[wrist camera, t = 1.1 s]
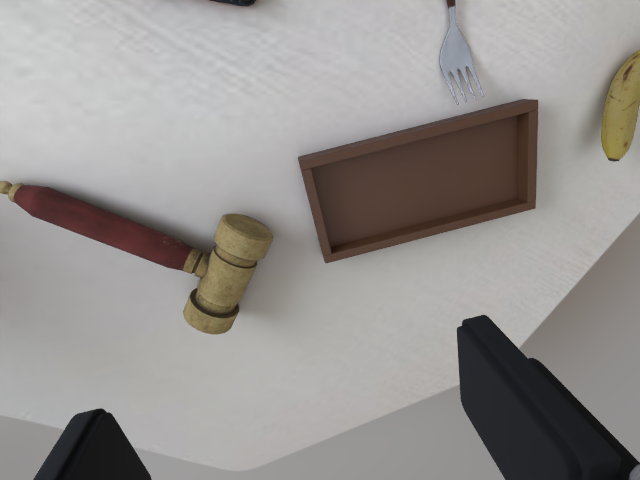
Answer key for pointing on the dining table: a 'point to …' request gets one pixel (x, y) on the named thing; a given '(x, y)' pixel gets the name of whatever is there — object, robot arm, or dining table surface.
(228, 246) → the gavel
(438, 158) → the tray
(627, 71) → the banana
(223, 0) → the handheld console
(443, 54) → the fork
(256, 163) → the dining table surface
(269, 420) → the dining table surface
